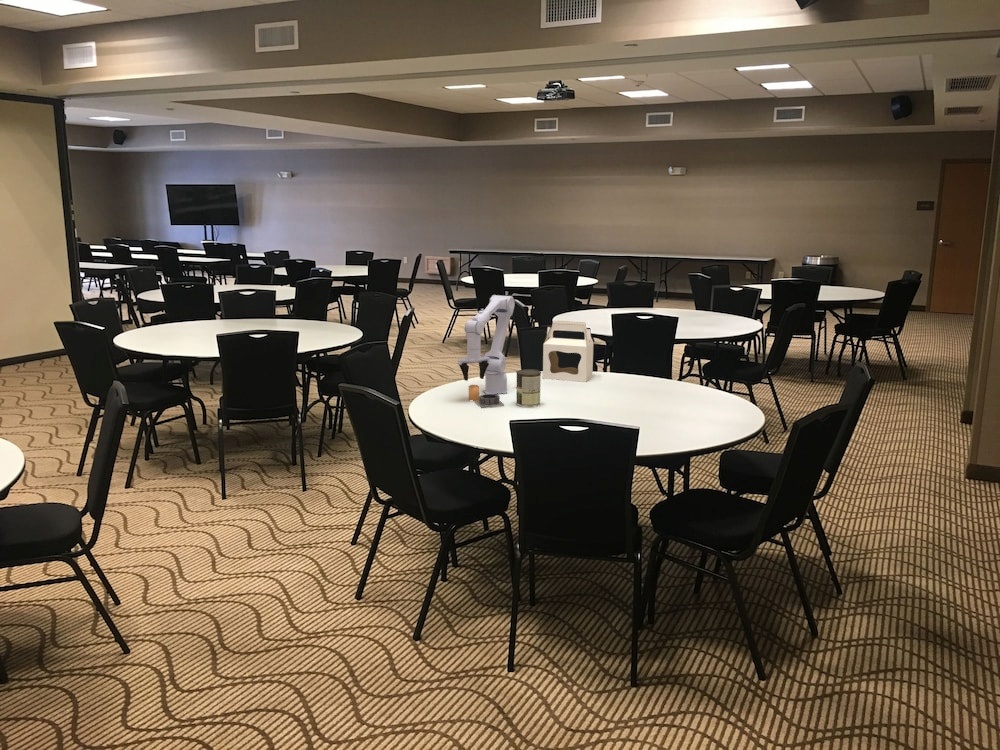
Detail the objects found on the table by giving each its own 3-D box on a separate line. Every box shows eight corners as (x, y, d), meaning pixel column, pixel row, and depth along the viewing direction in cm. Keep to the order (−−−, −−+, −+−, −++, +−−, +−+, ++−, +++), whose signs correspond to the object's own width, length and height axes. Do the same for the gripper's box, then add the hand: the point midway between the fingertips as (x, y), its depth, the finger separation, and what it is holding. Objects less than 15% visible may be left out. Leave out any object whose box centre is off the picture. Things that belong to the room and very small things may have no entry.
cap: (477, 398, 335) (477, 384, 333) (480, 400, 331) (480, 386, 329) (467, 399, 333) (467, 384, 332) (470, 401, 329) (470, 387, 328)
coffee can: (511, 404, 323) (511, 372, 321) (524, 400, 332) (525, 368, 329) (531, 408, 318) (532, 375, 315) (545, 403, 326) (545, 371, 323)
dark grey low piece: (497, 401, 330) (497, 393, 329) (504, 406, 321) (504, 398, 320) (474, 402, 327) (474, 394, 326) (481, 408, 318) (481, 399, 317)
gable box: (542, 378, 376) (543, 322, 370) (549, 373, 388) (550, 318, 382) (586, 382, 368) (588, 324, 362) (592, 377, 380) (594, 321, 374)
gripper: (484, 345, 334) (484, 376, 337) (454, 348, 327) (454, 379, 330) (492, 348, 328) (492, 379, 331) (461, 350, 321) (462, 382, 324)
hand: (473, 379), depth 330 cm, fingers open, 7 cm apart
